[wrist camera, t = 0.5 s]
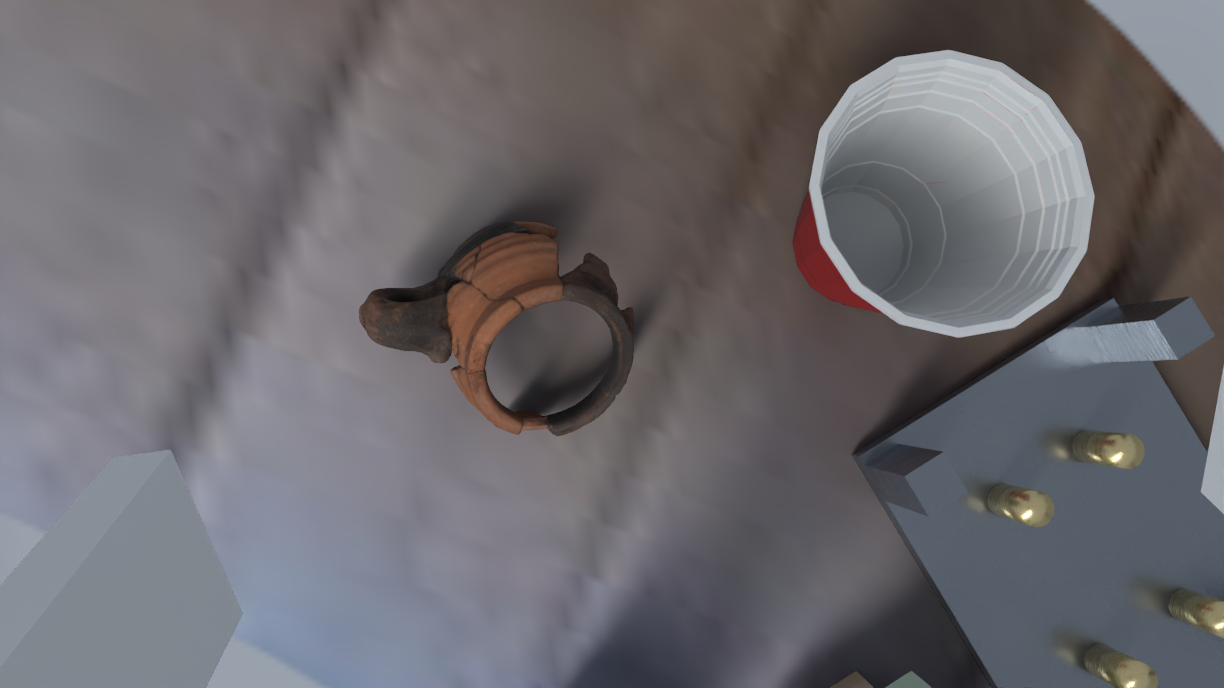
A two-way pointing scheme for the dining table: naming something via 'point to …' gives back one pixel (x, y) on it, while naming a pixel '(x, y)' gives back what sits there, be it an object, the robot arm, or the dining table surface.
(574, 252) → the dining table surface
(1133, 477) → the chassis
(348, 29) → the dining table surface
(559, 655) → the dining table surface
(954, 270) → the plastic cup
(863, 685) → the block
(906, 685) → the mint green block
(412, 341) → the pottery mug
